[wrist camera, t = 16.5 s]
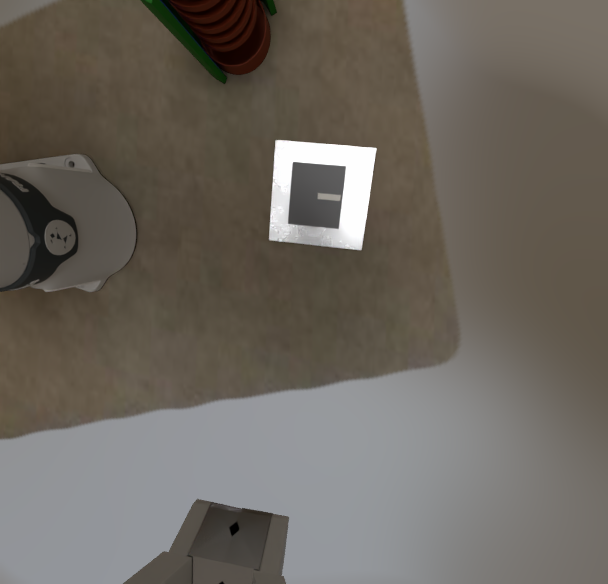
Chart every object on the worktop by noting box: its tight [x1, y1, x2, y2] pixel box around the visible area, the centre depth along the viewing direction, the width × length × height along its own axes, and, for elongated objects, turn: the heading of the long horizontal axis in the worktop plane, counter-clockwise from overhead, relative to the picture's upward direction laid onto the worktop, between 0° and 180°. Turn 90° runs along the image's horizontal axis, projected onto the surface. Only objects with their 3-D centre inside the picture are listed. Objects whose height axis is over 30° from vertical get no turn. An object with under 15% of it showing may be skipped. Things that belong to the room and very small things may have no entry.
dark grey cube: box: [288, 162, 346, 229], centre depth 36 cm, size 6×6×6 cm
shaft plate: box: [269, 140, 376, 250], centre depth 38 cm, size 12×12×4 cm
